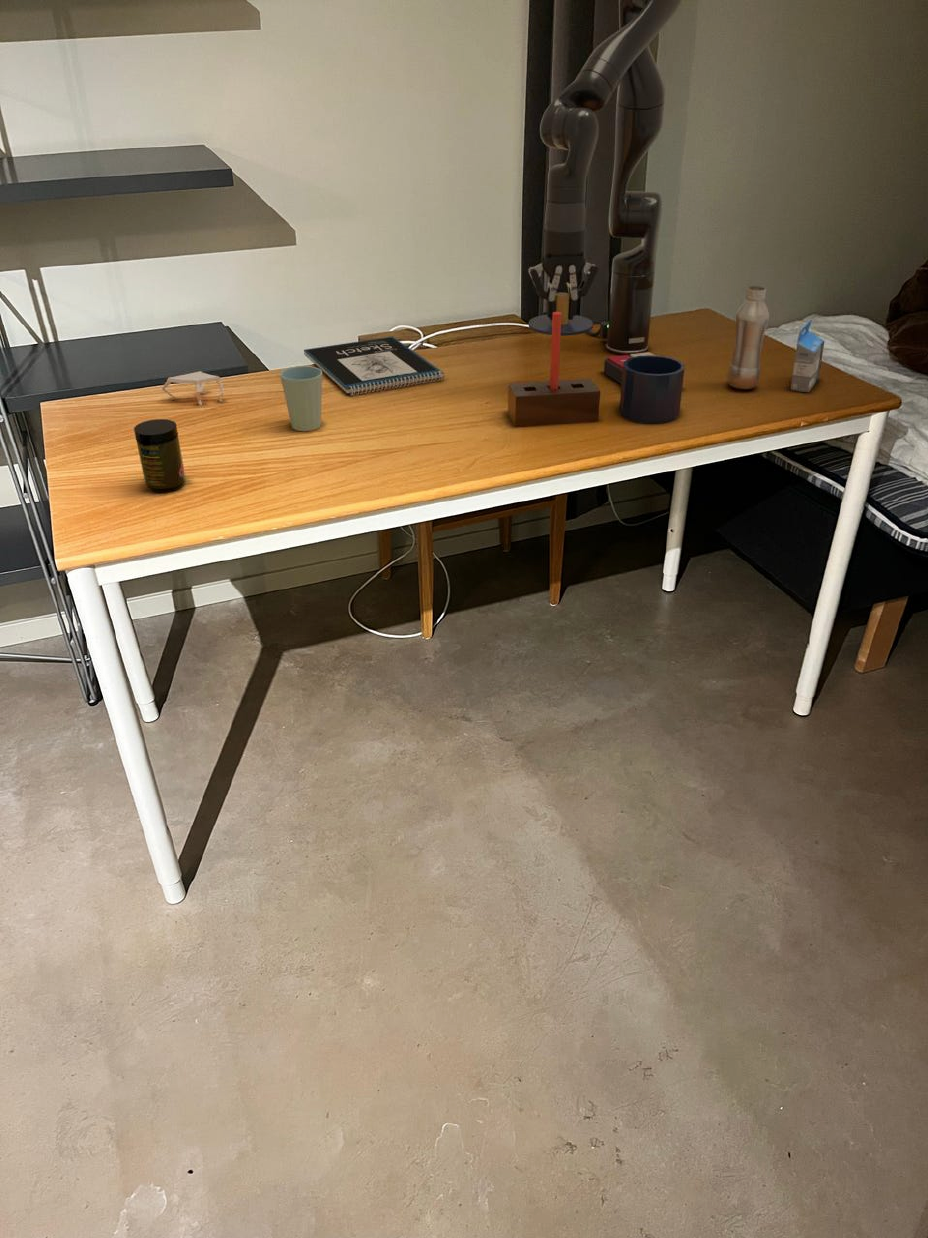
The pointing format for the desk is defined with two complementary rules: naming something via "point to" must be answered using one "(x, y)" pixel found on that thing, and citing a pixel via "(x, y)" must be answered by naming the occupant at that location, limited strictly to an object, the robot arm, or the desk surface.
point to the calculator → (618, 365)
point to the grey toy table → (195, 379)
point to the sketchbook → (372, 365)
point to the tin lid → (567, 326)
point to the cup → (303, 396)
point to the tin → (651, 389)
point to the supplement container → (160, 455)
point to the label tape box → (807, 360)
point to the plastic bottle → (749, 339)
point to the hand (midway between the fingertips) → (560, 318)
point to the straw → (555, 350)
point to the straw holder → (553, 402)
